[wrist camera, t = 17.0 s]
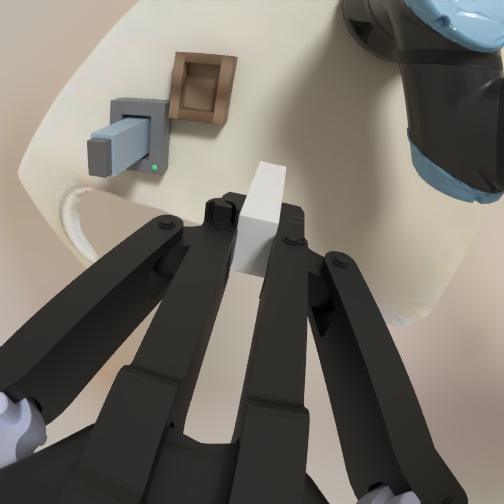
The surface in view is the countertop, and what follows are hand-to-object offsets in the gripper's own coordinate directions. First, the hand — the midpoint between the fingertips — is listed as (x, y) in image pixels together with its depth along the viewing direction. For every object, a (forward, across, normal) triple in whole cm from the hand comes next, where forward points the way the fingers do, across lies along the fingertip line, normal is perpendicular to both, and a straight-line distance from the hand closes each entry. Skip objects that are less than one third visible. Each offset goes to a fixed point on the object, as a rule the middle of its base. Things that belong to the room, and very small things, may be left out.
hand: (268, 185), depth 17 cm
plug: (+29, -23, -7) cm, 38 cm away
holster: (+29, -13, +2) cm, 32 cm away
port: (+29, -23, -7) cm, 38 cm away
